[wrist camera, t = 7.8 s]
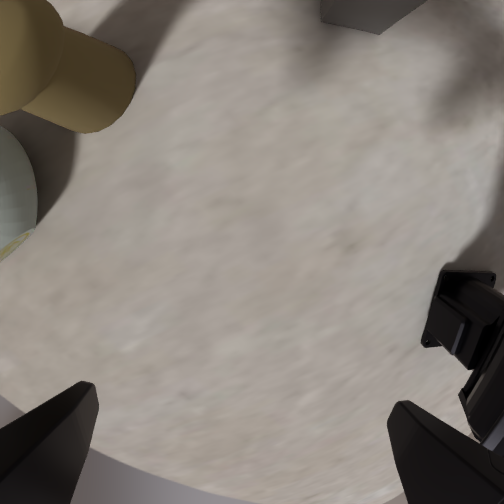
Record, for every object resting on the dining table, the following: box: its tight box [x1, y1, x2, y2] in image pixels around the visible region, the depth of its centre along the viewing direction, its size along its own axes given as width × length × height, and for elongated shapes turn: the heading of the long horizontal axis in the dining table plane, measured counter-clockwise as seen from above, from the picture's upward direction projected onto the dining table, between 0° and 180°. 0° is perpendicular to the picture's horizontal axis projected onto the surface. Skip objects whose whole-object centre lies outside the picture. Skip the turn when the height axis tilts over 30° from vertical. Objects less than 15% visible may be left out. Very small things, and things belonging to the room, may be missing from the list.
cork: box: [0, 0, 136, 134], centre depth 11 cm, size 6×6×11 cm
